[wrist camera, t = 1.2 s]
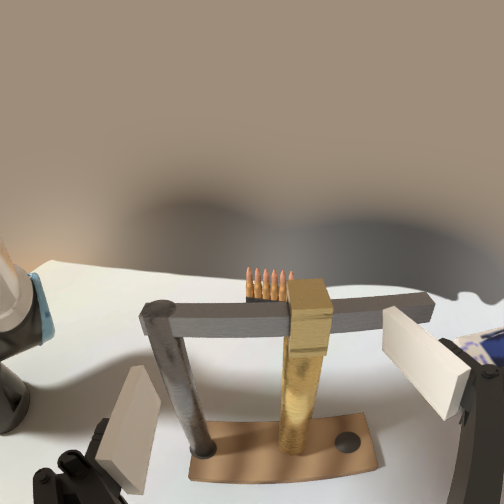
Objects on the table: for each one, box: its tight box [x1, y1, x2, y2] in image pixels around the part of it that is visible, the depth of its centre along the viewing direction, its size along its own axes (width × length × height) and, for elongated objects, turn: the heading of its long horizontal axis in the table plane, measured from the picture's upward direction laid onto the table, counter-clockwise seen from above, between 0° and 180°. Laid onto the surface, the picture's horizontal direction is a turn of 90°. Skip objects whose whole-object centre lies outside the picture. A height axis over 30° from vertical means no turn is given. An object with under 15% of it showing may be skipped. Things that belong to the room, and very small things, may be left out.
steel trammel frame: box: [139, 292, 435, 457], centre depth 28 cm, size 25×3×24 cm, turn 89°
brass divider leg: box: [278, 279, 333, 455], centre depth 27 cm, size 4×4×25 cm
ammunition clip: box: [246, 267, 294, 303], centre depth 61 cm, size 11×2×12 cm, turn 74°
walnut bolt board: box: [188, 412, 378, 484], centre depth 33 cm, size 25×10×2 cm, turn 89°
